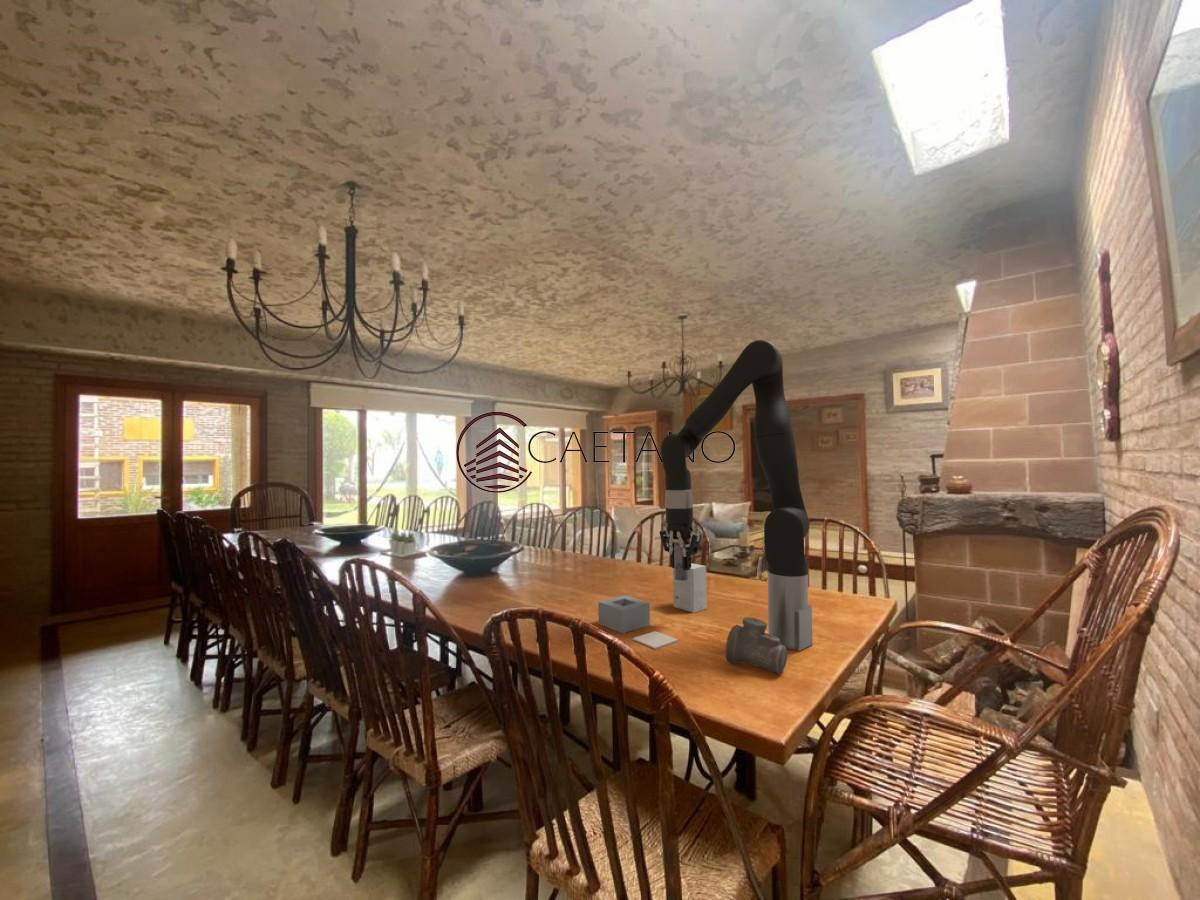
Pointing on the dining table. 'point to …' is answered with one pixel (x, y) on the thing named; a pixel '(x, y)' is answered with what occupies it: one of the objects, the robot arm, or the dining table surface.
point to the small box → (691, 590)
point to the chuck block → (624, 613)
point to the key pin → (679, 562)
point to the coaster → (655, 640)
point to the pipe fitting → (755, 646)
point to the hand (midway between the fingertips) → (680, 568)
